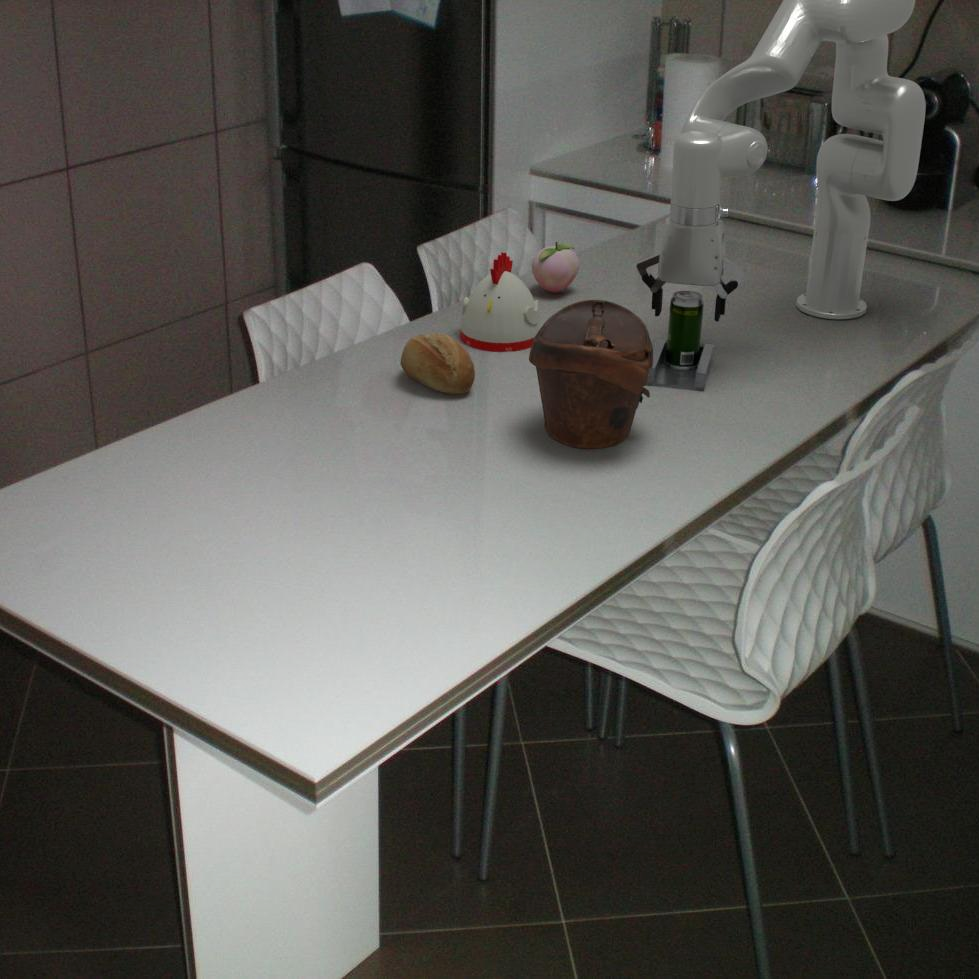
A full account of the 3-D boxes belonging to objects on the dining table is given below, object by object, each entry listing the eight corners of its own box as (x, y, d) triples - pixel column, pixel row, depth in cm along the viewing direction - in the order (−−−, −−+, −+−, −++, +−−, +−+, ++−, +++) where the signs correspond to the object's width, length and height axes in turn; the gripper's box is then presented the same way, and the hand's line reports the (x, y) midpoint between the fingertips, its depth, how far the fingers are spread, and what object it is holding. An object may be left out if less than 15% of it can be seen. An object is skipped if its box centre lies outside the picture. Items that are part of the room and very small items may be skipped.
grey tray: (656, 355, 232) (657, 338, 231) (712, 361, 230) (714, 344, 229) (644, 384, 221) (645, 367, 219) (703, 391, 219) (705, 373, 217)
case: (570, 470, 193) (577, 350, 185) (503, 418, 209) (507, 305, 201) (676, 448, 201) (687, 332, 193) (603, 399, 216) (611, 290, 208)
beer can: (703, 368, 226) (710, 299, 220) (674, 372, 224) (680, 302, 218) (688, 357, 230) (694, 288, 225) (659, 360, 228) (665, 291, 223)
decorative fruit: (548, 282, 265) (550, 231, 260) (584, 290, 261) (587, 239, 256) (521, 295, 258) (522, 243, 254) (557, 304, 254) (559, 251, 249)
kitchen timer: (448, 344, 235) (447, 260, 228) (478, 319, 247) (479, 237, 240) (524, 357, 231) (526, 271, 224) (551, 330, 242) (554, 247, 235)
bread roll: (440, 407, 212) (440, 358, 209) (385, 376, 223) (384, 330, 219) (489, 392, 218) (490, 344, 214) (433, 363, 228) (432, 317, 224)
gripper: (752, 210, 217) (743, 312, 225) (643, 202, 220) (638, 303, 229) (748, 224, 210) (739, 329, 218) (635, 216, 214) (631, 319, 222)
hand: (687, 315), depth 223 cm, fingers open, 9 cm apart
